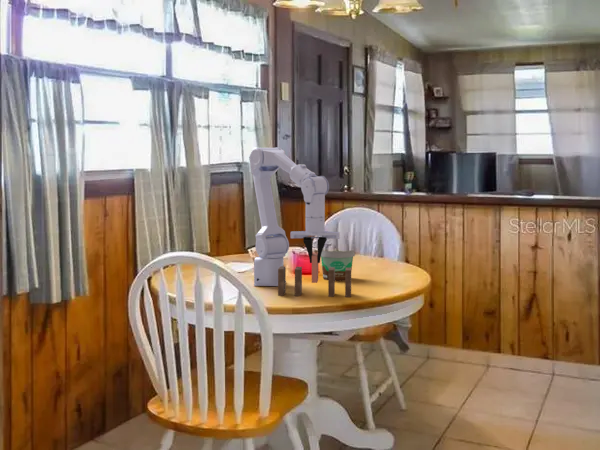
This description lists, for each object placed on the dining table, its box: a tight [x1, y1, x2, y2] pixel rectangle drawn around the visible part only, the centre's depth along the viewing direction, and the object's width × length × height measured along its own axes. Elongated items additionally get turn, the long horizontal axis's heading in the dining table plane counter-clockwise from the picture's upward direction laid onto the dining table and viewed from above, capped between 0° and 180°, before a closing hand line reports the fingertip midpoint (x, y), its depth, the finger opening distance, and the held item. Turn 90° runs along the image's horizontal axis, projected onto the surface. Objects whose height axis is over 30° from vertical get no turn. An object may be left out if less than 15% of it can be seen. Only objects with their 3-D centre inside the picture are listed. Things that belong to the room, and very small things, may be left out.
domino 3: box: [311, 252, 319, 284], centre depth 212 cm, size 2×5×8 cm, turn 175°
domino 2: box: [294, 266, 303, 297], centre depth 213 cm, size 2×5×8 cm, turn 174°
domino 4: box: [327, 267, 336, 298], centre depth 212 cm, size 2×5×8 cm, turn 174°
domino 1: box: [277, 266, 287, 297], centre depth 214 cm, size 2×5×8 cm, turn 174°
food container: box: [320, 248, 356, 282], centre depth 237 cm, size 12×6×10 cm, turn 101°
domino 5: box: [344, 268, 352, 298], centre depth 212 cm, size 2×5×8 cm, turn 174°
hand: (315, 262), depth 212 cm, fingers closed on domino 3, 1 cm apart
